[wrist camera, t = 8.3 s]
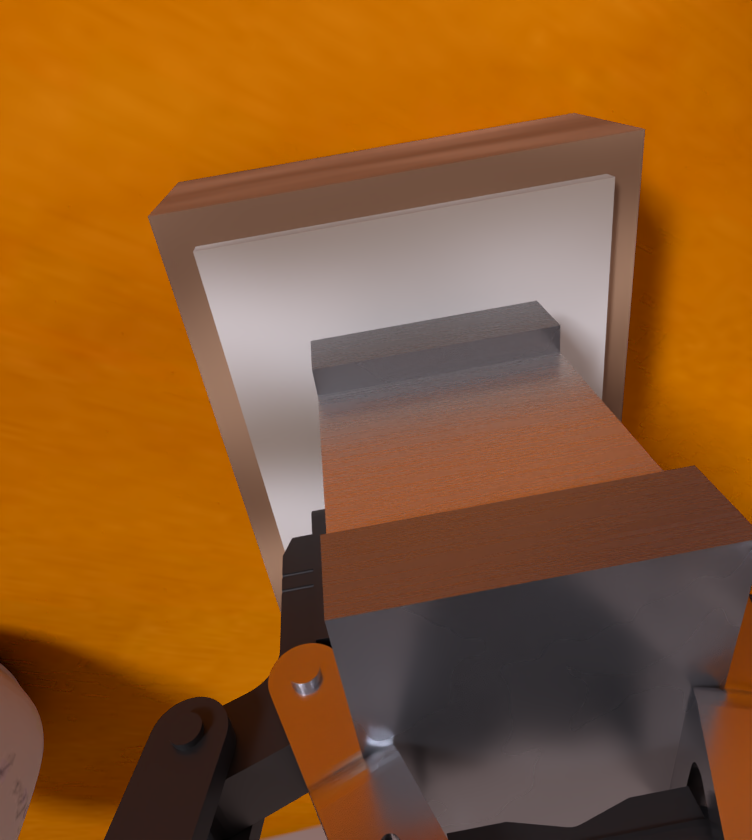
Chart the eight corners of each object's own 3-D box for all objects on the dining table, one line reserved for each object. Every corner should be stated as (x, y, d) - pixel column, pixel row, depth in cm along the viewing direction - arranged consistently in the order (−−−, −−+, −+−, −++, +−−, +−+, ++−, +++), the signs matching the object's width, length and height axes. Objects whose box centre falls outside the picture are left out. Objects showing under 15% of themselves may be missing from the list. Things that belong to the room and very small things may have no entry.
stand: (178, 182, 17) (143, 221, 13) (574, 113, 17) (654, 130, 13) (290, 554, 24) (289, 648, 20) (564, 503, 24) (613, 586, 20)
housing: (310, 340, 13) (324, 620, 7) (536, 300, 13) (764, 537, 7) (368, 604, 18) (409, 925, 11) (537, 572, 18) (675, 872, 11)
